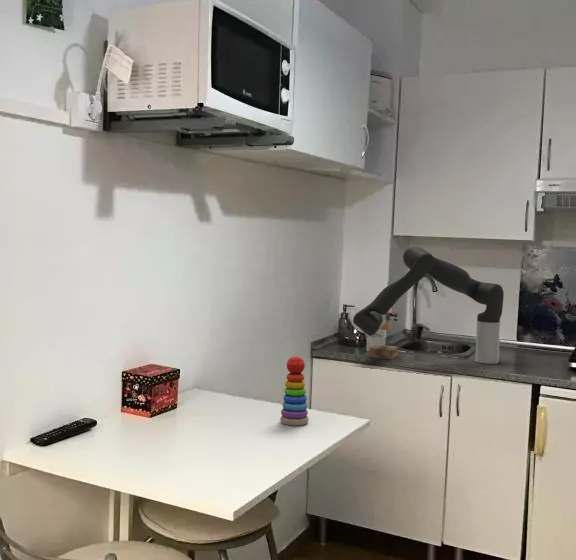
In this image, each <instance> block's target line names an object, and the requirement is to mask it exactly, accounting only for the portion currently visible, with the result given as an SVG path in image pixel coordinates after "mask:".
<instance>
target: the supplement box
mask: <svg viewBox="0 0 576 560" xmlns="http://www.w3.org/2000/svg"><path fill="white" fill-rule="evenodd" d="M386 331H387V330H381V329H378V331H377V332H376V333H375V334H374V335H367V334H366V352H369V351H370V348H371V347H373V346H374V345H385V346H386Z"/></svg>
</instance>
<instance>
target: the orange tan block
mask: <svg viewBox="0 0 576 560" xmlns="http://www.w3.org/2000/svg"><path fill="white" fill-rule="evenodd" d="M392 308H393V307H392ZM392 308H391V309H390V310H389V311H388V312H390V313H392V312H393V311H392V310H393V309H392ZM379 329H381V330H386V331H388V330H389V331H391V330H392V319H391V320H390V321H388V322H387V323H386V324H385V325H384V326H382V327H380V328H379Z"/></svg>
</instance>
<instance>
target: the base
mask: <svg viewBox="0 0 576 560" xmlns="http://www.w3.org/2000/svg"><path fill="white" fill-rule="evenodd" d="M368 353H369V356H368V357H369V358H370V359H371V358H372V359H382V360H383V359H385V360H394V359H395V358H397V357H398V356H399V346H396V345H386V344H385V345H374V346H373V347H371V348H370V351H368Z"/></svg>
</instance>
